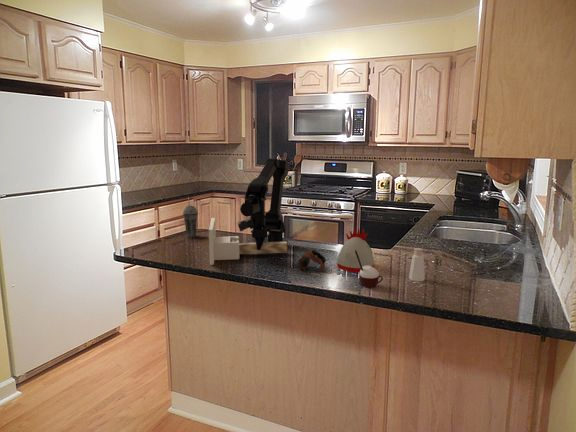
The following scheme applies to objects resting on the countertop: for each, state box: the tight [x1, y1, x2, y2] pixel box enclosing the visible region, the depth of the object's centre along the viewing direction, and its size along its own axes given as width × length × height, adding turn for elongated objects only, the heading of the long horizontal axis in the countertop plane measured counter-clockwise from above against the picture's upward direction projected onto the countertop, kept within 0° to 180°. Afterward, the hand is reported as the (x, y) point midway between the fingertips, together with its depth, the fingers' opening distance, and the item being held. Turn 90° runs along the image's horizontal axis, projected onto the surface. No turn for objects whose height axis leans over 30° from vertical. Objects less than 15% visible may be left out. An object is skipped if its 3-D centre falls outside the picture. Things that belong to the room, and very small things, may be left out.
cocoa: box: [355, 250, 383, 288], centre depth 139 cm, size 10×6×12 cm, turn 68°
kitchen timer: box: [336, 228, 375, 273], centre depth 160 cm, size 14×14×15 cm
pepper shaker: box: [408, 247, 426, 283], centre depth 146 cm, size 5×5×11 cm
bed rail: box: [232, 240, 288, 255], centre depth 176 cm, size 23×6×5 cm, turn 98°
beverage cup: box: [182, 196, 199, 238], centre depth 208 cm, size 7×7×20 cm
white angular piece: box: [208, 217, 240, 266], centre depth 174 cm, size 12×24×14 cm, turn 8°
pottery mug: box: [297, 249, 327, 272], centre depth 156 cm, size 12×10×8 cm
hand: (258, 249), depth 176 cm, fingers closed on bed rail, 3 cm apart
